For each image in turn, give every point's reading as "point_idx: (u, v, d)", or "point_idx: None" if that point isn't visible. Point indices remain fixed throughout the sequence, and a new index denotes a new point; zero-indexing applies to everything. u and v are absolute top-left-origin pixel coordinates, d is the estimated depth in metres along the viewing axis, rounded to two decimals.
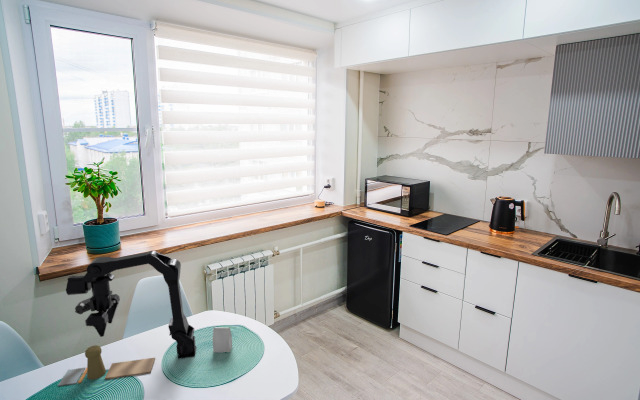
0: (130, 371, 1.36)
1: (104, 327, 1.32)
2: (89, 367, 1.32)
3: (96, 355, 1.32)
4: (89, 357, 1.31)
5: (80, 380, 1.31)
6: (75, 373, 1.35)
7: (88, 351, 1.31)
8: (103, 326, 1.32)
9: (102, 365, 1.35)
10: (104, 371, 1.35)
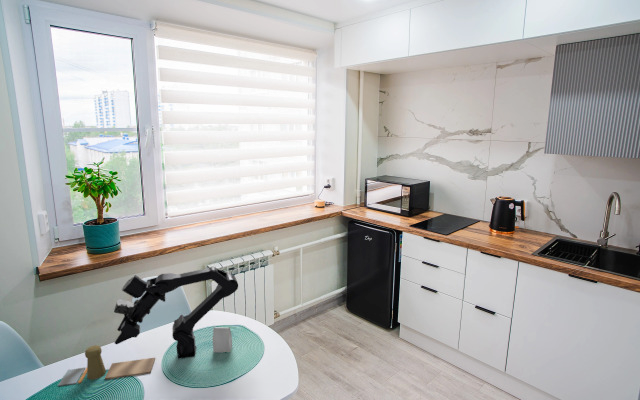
0: (130, 371, 1.36)
1: (127, 338, 1.31)
2: (89, 367, 1.32)
3: (96, 355, 1.32)
4: (89, 357, 1.31)
5: (80, 380, 1.31)
6: (75, 373, 1.35)
7: (88, 351, 1.31)
8: (127, 337, 1.31)
9: (102, 365, 1.35)
10: (104, 371, 1.35)
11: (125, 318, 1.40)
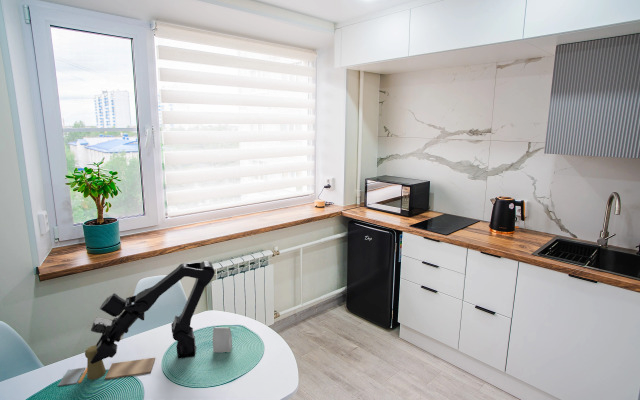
0: (130, 371, 1.36)
1: (103, 358, 1.29)
2: (89, 367, 1.32)
3: None
4: (89, 357, 1.31)
5: (80, 380, 1.31)
6: (75, 373, 1.35)
7: (88, 351, 1.31)
8: (104, 356, 1.29)
9: (102, 365, 1.35)
10: (104, 371, 1.35)
11: (103, 336, 1.38)
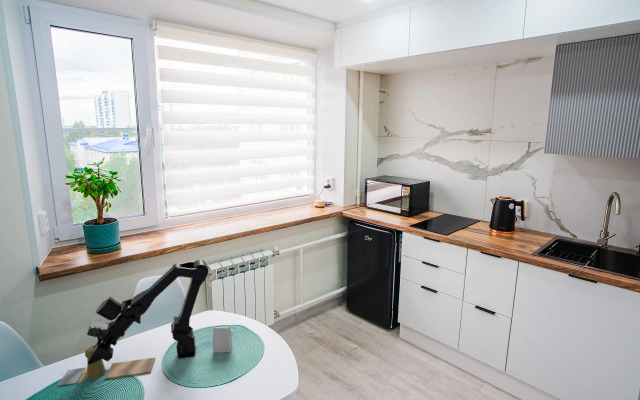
0: (130, 371, 1.36)
1: (100, 358, 1.31)
2: (89, 367, 1.32)
3: None
4: (89, 357, 1.31)
5: (80, 380, 1.31)
6: (75, 373, 1.35)
7: (88, 351, 1.31)
8: None
9: (102, 365, 1.35)
10: (104, 371, 1.35)
11: (98, 342, 1.36)
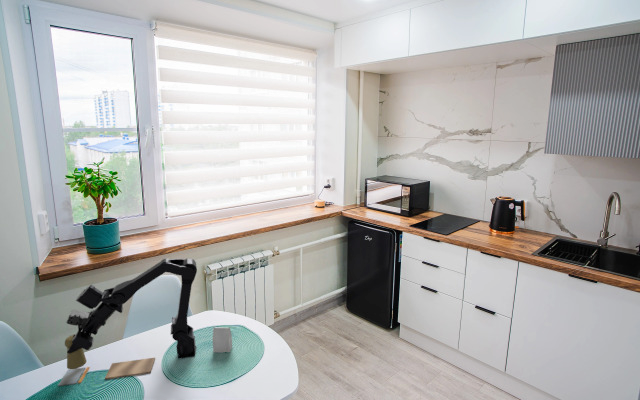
0: (130, 371, 1.36)
1: (80, 347, 1.28)
2: (69, 357, 1.29)
3: None
4: (69, 346, 1.28)
5: (80, 380, 1.31)
6: (75, 373, 1.35)
7: (68, 340, 1.29)
8: (80, 346, 1.28)
9: (82, 355, 1.32)
10: (84, 361, 1.33)
11: (79, 332, 1.34)
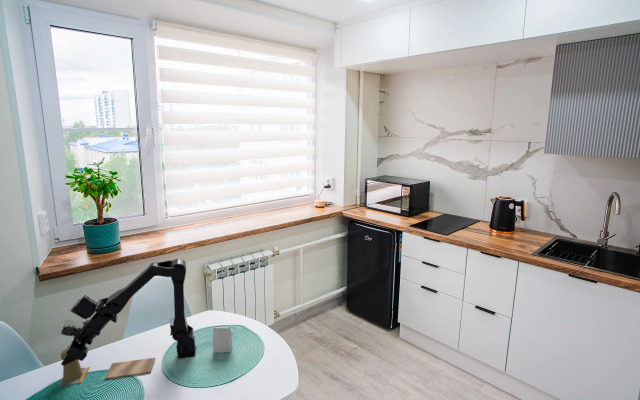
0: (130, 371, 1.36)
1: (74, 359, 1.28)
2: (65, 369, 1.30)
3: None
4: None
5: (80, 380, 1.31)
6: None
7: (64, 353, 1.29)
8: (75, 358, 1.28)
9: (78, 367, 1.33)
10: (81, 373, 1.34)
11: (74, 340, 1.35)
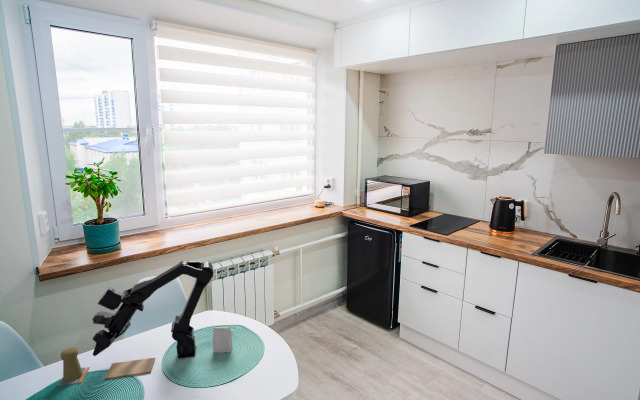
0: (130, 371, 1.36)
1: (103, 349, 1.31)
2: (65, 370, 1.30)
3: (72, 357, 1.30)
4: (65, 359, 1.29)
5: (80, 380, 1.31)
6: None
7: (64, 353, 1.29)
8: (103, 348, 1.30)
9: (78, 367, 1.33)
10: (81, 373, 1.34)
11: None
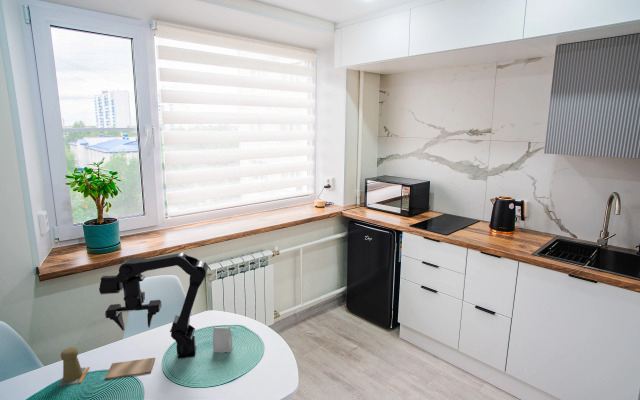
0: (130, 371, 1.36)
1: None
2: (65, 370, 1.30)
3: (72, 357, 1.30)
4: (65, 359, 1.29)
5: (80, 380, 1.31)
6: None
7: (64, 353, 1.29)
8: None
9: (78, 367, 1.33)
10: (81, 373, 1.34)
11: None
